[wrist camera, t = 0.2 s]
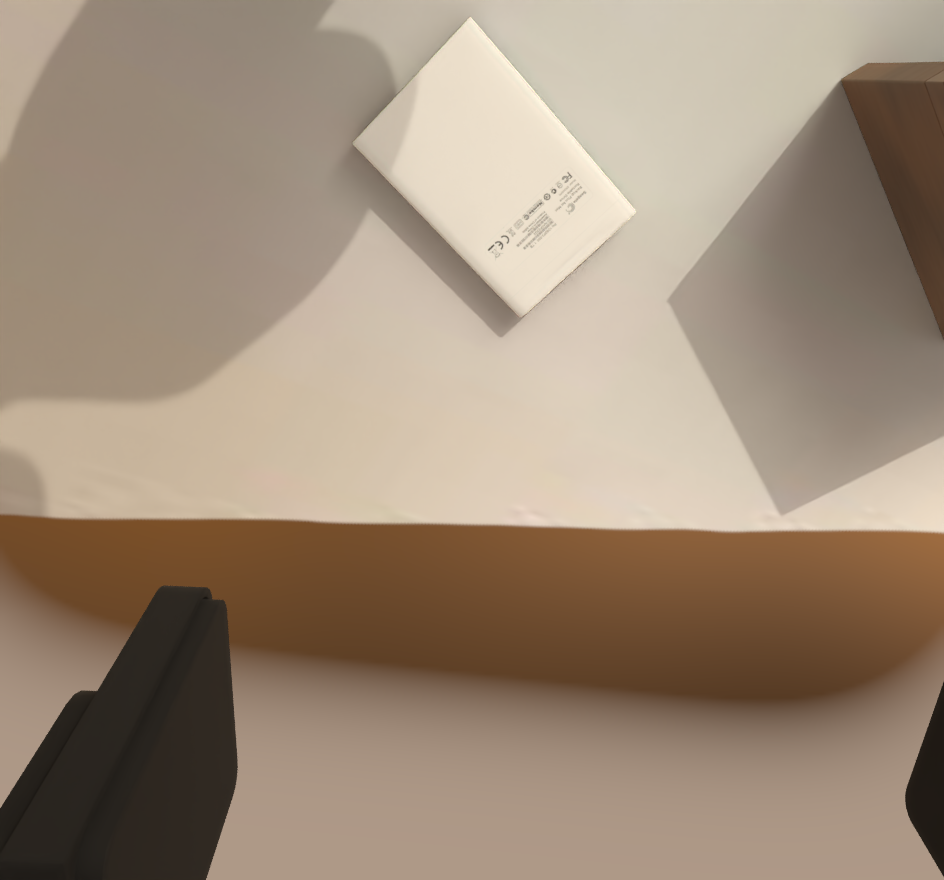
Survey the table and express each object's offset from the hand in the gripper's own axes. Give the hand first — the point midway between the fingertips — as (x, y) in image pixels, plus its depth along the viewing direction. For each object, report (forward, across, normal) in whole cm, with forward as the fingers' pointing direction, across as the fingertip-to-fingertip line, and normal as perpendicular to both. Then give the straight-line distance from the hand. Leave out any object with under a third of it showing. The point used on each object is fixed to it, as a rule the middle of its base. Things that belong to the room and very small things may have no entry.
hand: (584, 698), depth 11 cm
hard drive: (+37, 0, -2) cm, 37 cm away
